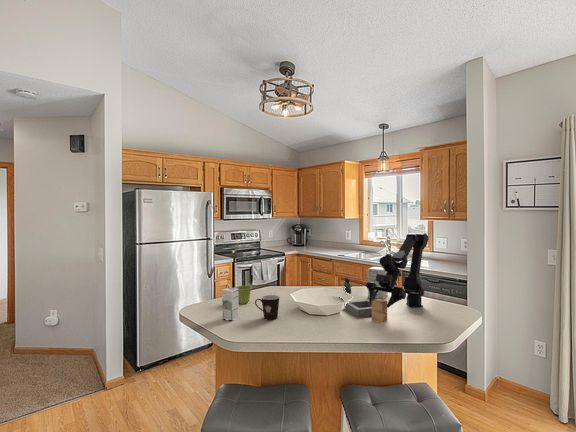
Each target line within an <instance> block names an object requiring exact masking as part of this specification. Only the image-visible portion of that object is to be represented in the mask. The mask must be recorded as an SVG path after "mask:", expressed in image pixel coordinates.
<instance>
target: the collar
mask: <svg viewBox="0 0 576 432" xmlns="http://www.w3.org/2000/svg"><path fill="white" fill-rule="evenodd" d="M348 302H349V303H347V304H346V306H345V305H344V309H345V310H346V311H347V312H349V313H351V314H353V315H354V316H355V317H357V318H362V317H369V316H371V317H372V303H371V304H370V303H369V299H361V300H353V301H348Z"/></svg>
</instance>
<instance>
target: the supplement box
mask: <svg viewBox="0 0 576 432" xmlns="http://www.w3.org/2000/svg"><path fill="white" fill-rule="evenodd" d="M386 273H387V272H386V271H385V270H384V269H383V267H382V266H371V267H369V268H367V282H374V283H375V284H376V285H377V286H380V285H379V284H378V283H379V282H378V281H375V280H376V275H377V274H381V275H386ZM388 293H389V292H384V291H379V290H378V292H377V295H376V297H375V298H374V299H380V300H384V299H385V298H387V297H388V296H389V295H388ZM367 297H368V298H370V291H369V290H368V289H367Z"/></svg>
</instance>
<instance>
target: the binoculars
mask: <svg viewBox="0 0 576 432" xmlns="http://www.w3.org/2000/svg"><path fill="white" fill-rule="evenodd" d="M343 282H344V283H343V284H344V286H343V288H344V287H346V288H345V290H346V291H345V290H344V291H345V293H346V292H347V293H349V294H351V295H352V288H351V287H353V285H351V282H350V279H349V277H344V281H343Z"/></svg>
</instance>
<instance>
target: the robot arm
mask: <svg viewBox="0 0 576 432" xmlns="http://www.w3.org/2000/svg"><path fill="white" fill-rule="evenodd" d="M428 242H429V235H428V234H427V233H425V232H413V233H407V234H406V235H405V239H404V241H403V243H402V244H401V246H400V248H399V250H398V251H397V252H395V253H393V255H391V254H390V253H386V254H385V255H384V256H382V257H380V258H379V261H378V262H379V264H380V267H383V269H384V270H385V271H386V272H387V273H386V275H381V274H377V275H376V280H375V281H378V282H379V283H378V284H379V285H380V286H377V285H376V284H375V283H374V282H368V281H367V282H366V284H365V287H366V288H367V291H368V290H369V291H370V297H368V300H369V303H370V304H371V303H372V301H373V300H375V299H376V298H375V297H376V295H377V292H378V290H379V291H384V292H388V293H389V294H391V295H390V297H389V299H388V301H387V309H388V308H390V307H391V306H393V305H394V304H395V303H398V302H399V301H402V300H406V303H405V304H406V305H408V307H411V308H422V307H424V305H422V297H423V296H424V295H425V289H424V287H423V286H422V280H421V278H420V272H421V266H422V258H423V253H424V252H423V251H424V249H425V248H426V247H427V245H428ZM411 251H412V256H411V261H410V268H409V273H408V275H407V276H405V277H404V281H403V287H402V286H397V281H398V279H399V277H402V272H401V270H400V269H405V268H406V267H407V265H408V261H409V260H408V257H409V254H410V253H411Z"/></svg>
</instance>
